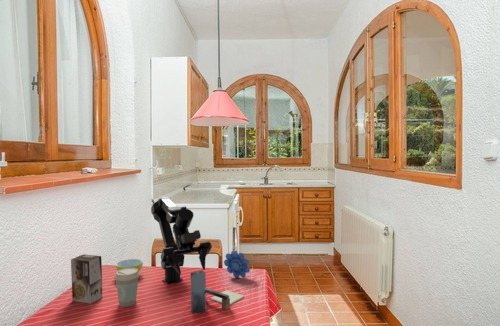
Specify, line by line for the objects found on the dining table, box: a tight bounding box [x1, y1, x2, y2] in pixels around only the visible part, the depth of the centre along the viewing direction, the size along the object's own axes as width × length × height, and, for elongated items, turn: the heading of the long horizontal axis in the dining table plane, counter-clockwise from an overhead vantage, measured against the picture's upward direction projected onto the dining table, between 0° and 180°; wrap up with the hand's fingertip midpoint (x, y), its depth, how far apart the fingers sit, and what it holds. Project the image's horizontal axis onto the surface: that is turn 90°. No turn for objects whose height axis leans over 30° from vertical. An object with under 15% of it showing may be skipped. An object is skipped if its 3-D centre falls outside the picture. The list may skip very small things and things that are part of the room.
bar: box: [206, 287, 229, 300], centre depth 120 cm, size 14×1×1 cm, turn 52°
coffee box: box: [70, 254, 103, 304], centre depth 125 cm, size 9×6×16 cm
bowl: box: [115, 258, 144, 273], centre depth 148 cm, size 11×12×6 cm
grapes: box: [223, 250, 251, 278], centre depth 144 cm, size 12×7×12 cm, turn 79°
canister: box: [190, 270, 207, 314], centre depth 115 cm, size 5×5×13 cm
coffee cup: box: [114, 268, 140, 308], centre depth 121 cm, size 8×8×12 cm
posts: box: [221, 298, 231, 311], centre depth 120 cm, size 14×2×4 cm, turn 52°
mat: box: [210, 289, 245, 306], centre depth 124 cm, size 9×9×1 cm
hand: (192, 271), depth 120 cm, fingers open, 9 cm apart
